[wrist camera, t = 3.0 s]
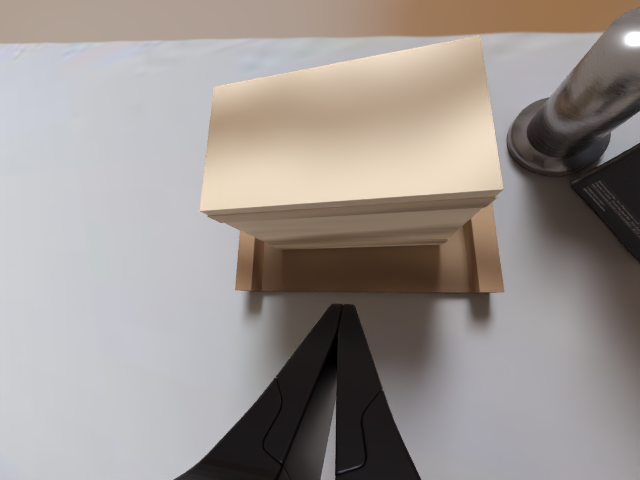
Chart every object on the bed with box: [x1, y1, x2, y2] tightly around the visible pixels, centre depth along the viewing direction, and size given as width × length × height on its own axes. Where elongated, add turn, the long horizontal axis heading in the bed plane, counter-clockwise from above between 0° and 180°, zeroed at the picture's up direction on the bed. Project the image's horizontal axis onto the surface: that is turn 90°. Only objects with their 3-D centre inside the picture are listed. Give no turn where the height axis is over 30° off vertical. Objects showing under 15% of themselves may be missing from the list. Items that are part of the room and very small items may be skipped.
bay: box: [235, 203, 504, 293], centre depth 18 cm, size 15×16×3 cm
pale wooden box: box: [199, 35, 503, 250], centre depth 14 cm, size 6×11×9 cm, turn 89°
